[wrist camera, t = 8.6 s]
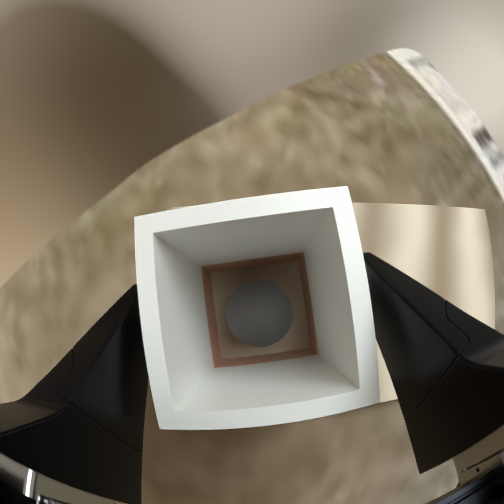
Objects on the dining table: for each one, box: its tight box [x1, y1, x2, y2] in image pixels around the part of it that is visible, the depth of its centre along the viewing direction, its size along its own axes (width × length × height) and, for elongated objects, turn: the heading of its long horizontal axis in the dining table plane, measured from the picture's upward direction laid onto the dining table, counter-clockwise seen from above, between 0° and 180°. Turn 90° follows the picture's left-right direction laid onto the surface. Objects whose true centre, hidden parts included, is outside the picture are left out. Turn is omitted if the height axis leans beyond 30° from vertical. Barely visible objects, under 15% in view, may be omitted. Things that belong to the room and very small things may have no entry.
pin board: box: [170, 203, 495, 403], centre depth 15 cm, size 24×13×4 cm, turn 91°
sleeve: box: [134, 186, 380, 430], centre depth 12 cm, size 6×6×9 cm
